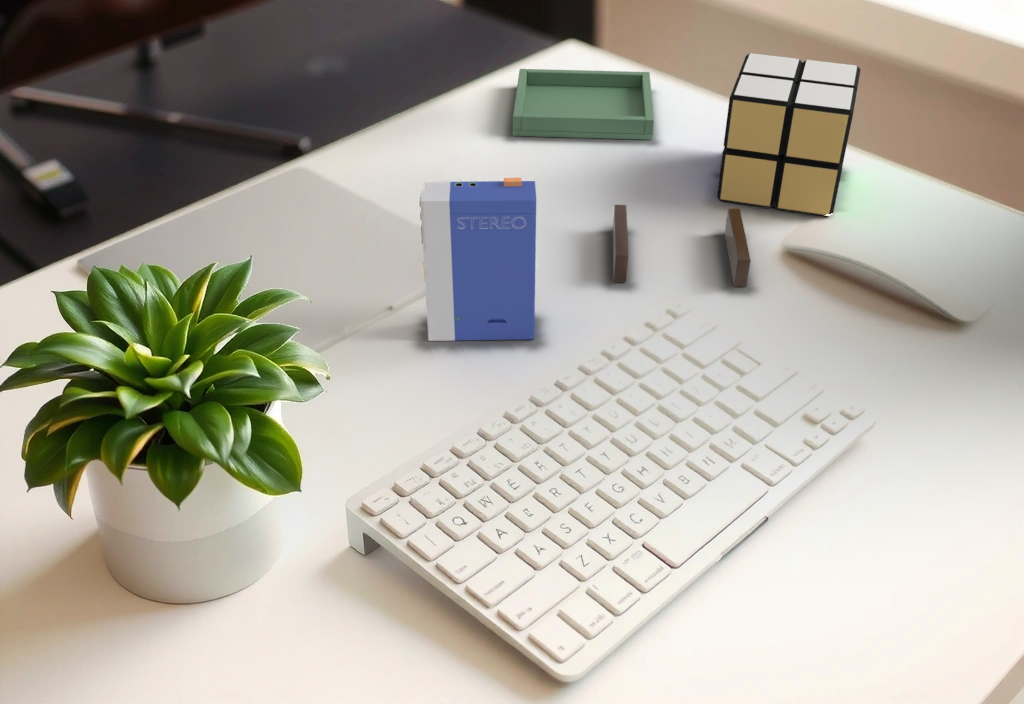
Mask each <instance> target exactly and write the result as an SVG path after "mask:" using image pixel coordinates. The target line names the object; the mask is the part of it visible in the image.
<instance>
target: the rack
mask: <svg viewBox="0 0 1024 704" xmlns="http://www.w3.org/2000/svg"><path fill="white" fill-rule="evenodd" d="M627 210H628V209H627V205H626V204H614V205H613V219H612V221H613V222H612V255H613V257H612V263H613V265H612V266H613V267H612V268H613V269H612V270H613V282H614V283H627V280H628V279H627V277H628V268H629V267H628V266H629V240H628V239H629V236H628V215H627V214H628V213H627ZM725 220H726V221H725V229H724V238H725V243H726V249H727V255H728V259H729V266H730V272H731V277H732V282H733V283H732V284H733V286H734V287H747V285H748V280H749V273H750V266H751V256H750V250H749V246H748V241H747V236H746V232H745V226H744V221H743V217H742V212H741V208H735V207H734V208H733V207H731V208H730V207H729V208H728V209H727V213H726V219H725Z"/></svg>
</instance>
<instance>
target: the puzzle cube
mask: <svg viewBox="0 0 1024 704" xmlns="http://www.w3.org/2000/svg"><path fill="white" fill-rule="evenodd" d="M861 70H862V69H861V68H860V67H859V66H858V65H857V64H856V65H855V64H847V63H839V62H831V61H823V60H822V61H821V60H814V59H806V60H804V61H802V60H801V58H798V57H797V58H795V57H789V56H780V55H770V54H762V53H755V52H754V53H752V52H749V53H748V54H746V55H745V57H744V60H743V62H742V65H741V68H740V70H739V72H738V76H737V78H736V81H735V82H734V86H733V88H732V90H731V93H730V96H729V100H728V107H727V115H726V121H725V122H726V124H725V131H724V139H723V150H722V154H721V160H720V170H719V179H718V186H717V192H716V193H717V195H716V198H717V199H718V200H719V201H720V202H727V203H733V204H740V205H747V206H753V207H760V208H766V209H771V208H772V207H775V208H776V210H779V211H786V212H791V213H792V212H793V213H799V214H805V215H811V216H812V215H813V216H820V217H824V216H823V215H826V214H831V213H833V214H834V212H835V206H836V201H837V197H838V192H839V187H840V182H841V181H840V180H841V175H842V173H843V166H844V160H845V156H846V151H847V146H848V141H849V136H850V132H851V127H852V123H853V122H852V121H853V117H854V111H855V104H856V100H857V95H858V88H859V82H860V77H861Z"/></svg>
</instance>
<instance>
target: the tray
mask: <svg viewBox="0 0 1024 704" xmlns="http://www.w3.org/2000/svg"><path fill="white" fill-rule="evenodd" d="M650 73H651V72H650V71H623V70H622V71H621V70H585V69H582V70H581V69H579V70H578V69H546V68H545V69H543V68H540V69H539V68H528V69H527V68H519V72H518V79H517V86H516V92H515V98H514V106H513V112H512V137H513V136H514V137H542V138H544V137H546V138H579V139H580V138H581V139H615V140H617V139H618V140H645V141H646V140H649V141H652V140H653V136H654V134H653V133H654V123H655V116H654V106H653V105H654V104H653V97H652V86H651V85H652V84H651V75H650Z"/></svg>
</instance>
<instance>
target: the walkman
mask: <svg viewBox="0 0 1024 704" xmlns="http://www.w3.org/2000/svg"><path fill="white" fill-rule="evenodd" d="M536 188H537V187H536V181H535V180H522V177H503V180H485V181H484V180H483V181H482V180H481V181H480V180H479V181H478V180H477V181H425V182H424V189H423V191H421V192H420V196H419V207H420V214H419V215H420V216H419V217H420V221H421V225H420V233H421V234H420V235H421V244H422V255H423V279H424V281H423V282H424V286H425V288H424V289H425V305H426V306H425V307H426V320H427V321H426V322H427V323H426V324H427V338H428V339H427V341H429V342H431V341H432V342H442V341H443V342H445V341H446V342H452V341H453V342H454V341H502V340H503V341H504V340H506V341H507V340H508V341H509V340H511V341H513V340H535V329H536V328H535V327H536V325H535V324H536V323H535V320H536V319H535V317H536V315H535V314H536V256H537V255H536V253H537V252H536V248H537V190H536Z"/></svg>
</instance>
